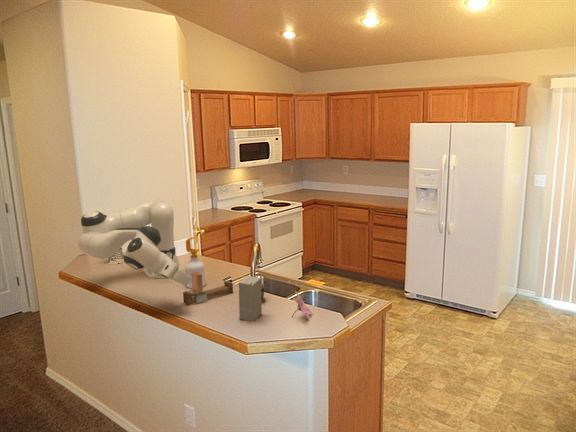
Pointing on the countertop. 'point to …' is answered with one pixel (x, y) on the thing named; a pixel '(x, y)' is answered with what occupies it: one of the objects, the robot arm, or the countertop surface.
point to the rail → (210, 293)
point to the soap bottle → (194, 264)
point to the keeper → (198, 288)
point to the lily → (302, 306)
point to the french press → (116, 255)
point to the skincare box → (250, 298)
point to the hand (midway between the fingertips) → (185, 283)
